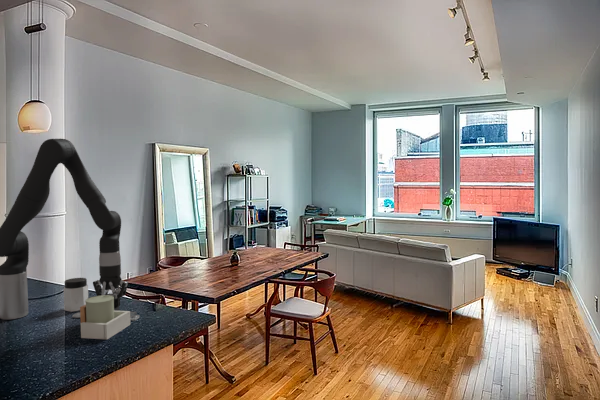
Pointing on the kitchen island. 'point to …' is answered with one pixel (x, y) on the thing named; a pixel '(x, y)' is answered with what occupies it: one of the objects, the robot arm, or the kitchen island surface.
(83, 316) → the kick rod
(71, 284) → the jar
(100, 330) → the frame
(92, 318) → the can
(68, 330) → the kitchen island surface
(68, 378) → the kitchen island surface
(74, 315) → the rail
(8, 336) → the kitchen island surface
